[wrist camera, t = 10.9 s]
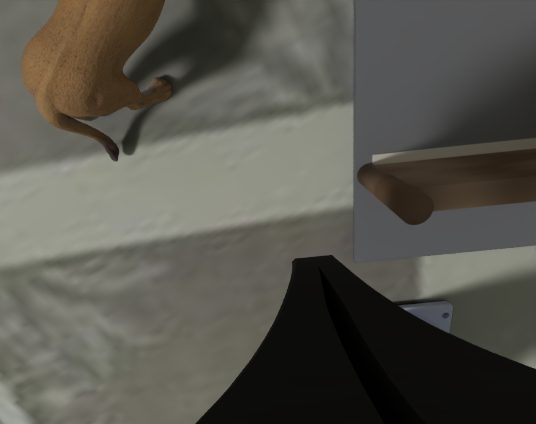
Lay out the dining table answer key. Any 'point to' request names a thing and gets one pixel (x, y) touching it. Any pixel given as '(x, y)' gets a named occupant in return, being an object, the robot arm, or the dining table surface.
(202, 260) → the dining table surface
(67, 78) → the lion figurine
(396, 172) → the fence
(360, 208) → the card
